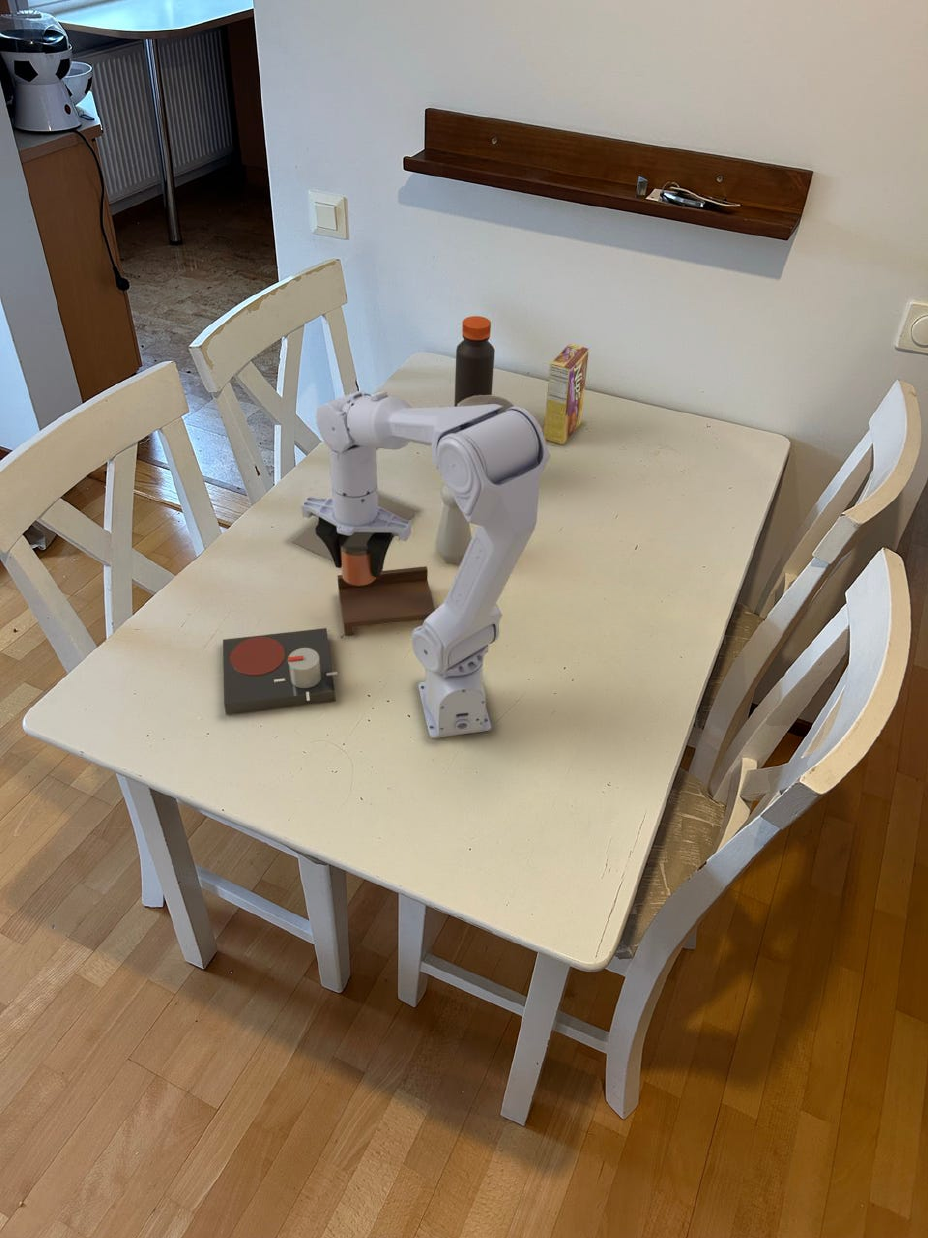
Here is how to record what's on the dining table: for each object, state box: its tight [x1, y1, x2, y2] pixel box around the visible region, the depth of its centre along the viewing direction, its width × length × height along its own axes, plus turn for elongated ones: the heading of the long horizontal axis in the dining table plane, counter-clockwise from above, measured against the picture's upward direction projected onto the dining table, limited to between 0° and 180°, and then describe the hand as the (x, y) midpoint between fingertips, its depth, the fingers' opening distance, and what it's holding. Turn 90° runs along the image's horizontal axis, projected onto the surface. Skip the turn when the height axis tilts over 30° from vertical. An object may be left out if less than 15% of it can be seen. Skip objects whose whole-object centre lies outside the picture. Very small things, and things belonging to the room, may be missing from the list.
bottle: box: [453, 315, 495, 407], centre depth 164 cm, size 7×7×20 cm
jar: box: [339, 532, 377, 586], centre depth 122 cm, size 5×5×6 cm
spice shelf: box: [336, 565, 436, 636], centre depth 131 cm, size 8×13×4 cm, turn 102°
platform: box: [291, 494, 419, 561], centre depth 145 cm, size 12×18×7 cm, turn 148°
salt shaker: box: [434, 483, 473, 565], centre depth 138 cm, size 6×6×13 cm
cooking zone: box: [230, 637, 285, 676], centre depth 122 cm, size 7×7×1 cm
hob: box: [222, 627, 338, 716], centre depth 121 cm, size 13×15×2 cm
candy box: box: [543, 343, 590, 445], centre depth 165 cm, size 9×4×15 cm, turn 152°
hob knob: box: [288, 648, 321, 688], centre depth 118 cm, size 4×4×4 cm
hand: (358, 567), depth 124 cm, fingers closed on jar, 5 cm apart
